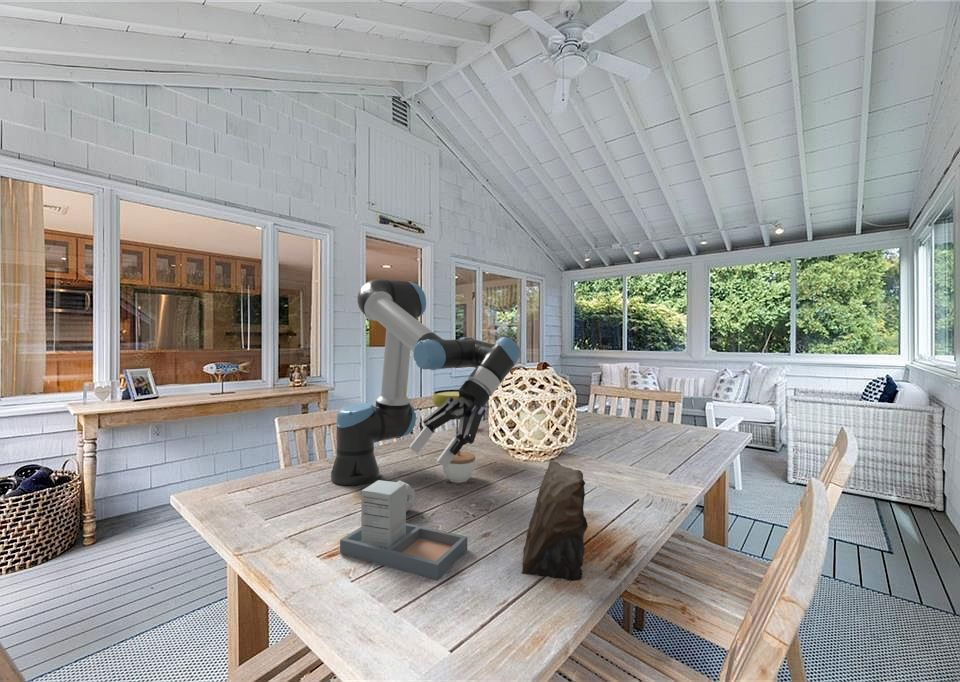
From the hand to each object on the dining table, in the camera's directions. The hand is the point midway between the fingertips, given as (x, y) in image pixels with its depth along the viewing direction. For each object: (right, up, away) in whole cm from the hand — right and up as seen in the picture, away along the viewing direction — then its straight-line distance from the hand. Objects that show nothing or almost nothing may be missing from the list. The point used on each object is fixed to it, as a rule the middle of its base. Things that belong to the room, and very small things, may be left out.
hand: (426, 457), depth 105 cm
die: (-8, -18, +12) cm, 23 cm away
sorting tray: (-4, -18, -9) cm, 21 cm away
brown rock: (+27, -19, -14) cm, 36 cm away
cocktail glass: (+4, -17, +62) cm, 64 cm away
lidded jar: (+6, -18, +39) cm, 43 cm away
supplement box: (-9, -18, -6) cm, 21 cm away
